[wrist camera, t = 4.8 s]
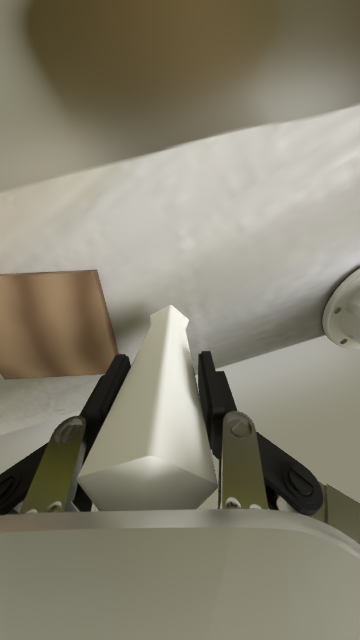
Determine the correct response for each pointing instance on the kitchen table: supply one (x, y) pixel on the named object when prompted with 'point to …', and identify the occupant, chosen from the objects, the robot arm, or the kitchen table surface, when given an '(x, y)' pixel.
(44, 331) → the walnut board
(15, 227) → the kitchen table surface
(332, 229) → the kitchen table surface
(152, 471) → the white tall faceted piece
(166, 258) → the kitchen table surface
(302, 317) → the kitchen table surface
